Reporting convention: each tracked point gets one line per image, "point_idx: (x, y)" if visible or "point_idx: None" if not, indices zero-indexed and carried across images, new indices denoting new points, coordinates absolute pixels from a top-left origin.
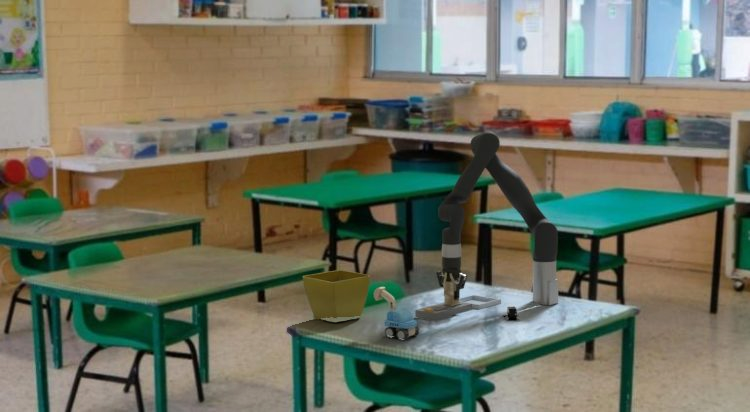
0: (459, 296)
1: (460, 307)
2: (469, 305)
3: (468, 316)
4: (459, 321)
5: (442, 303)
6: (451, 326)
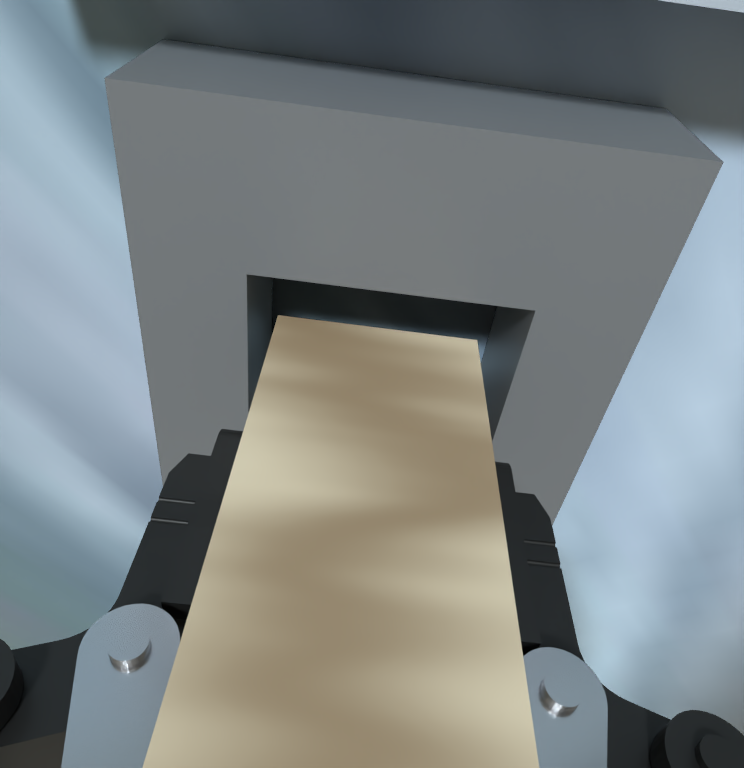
0: (552, 529)
1: (579, 454)
2: (674, 235)
3: (705, 418)
4: (669, 601)
5: (179, 398)
6: (656, 708)
